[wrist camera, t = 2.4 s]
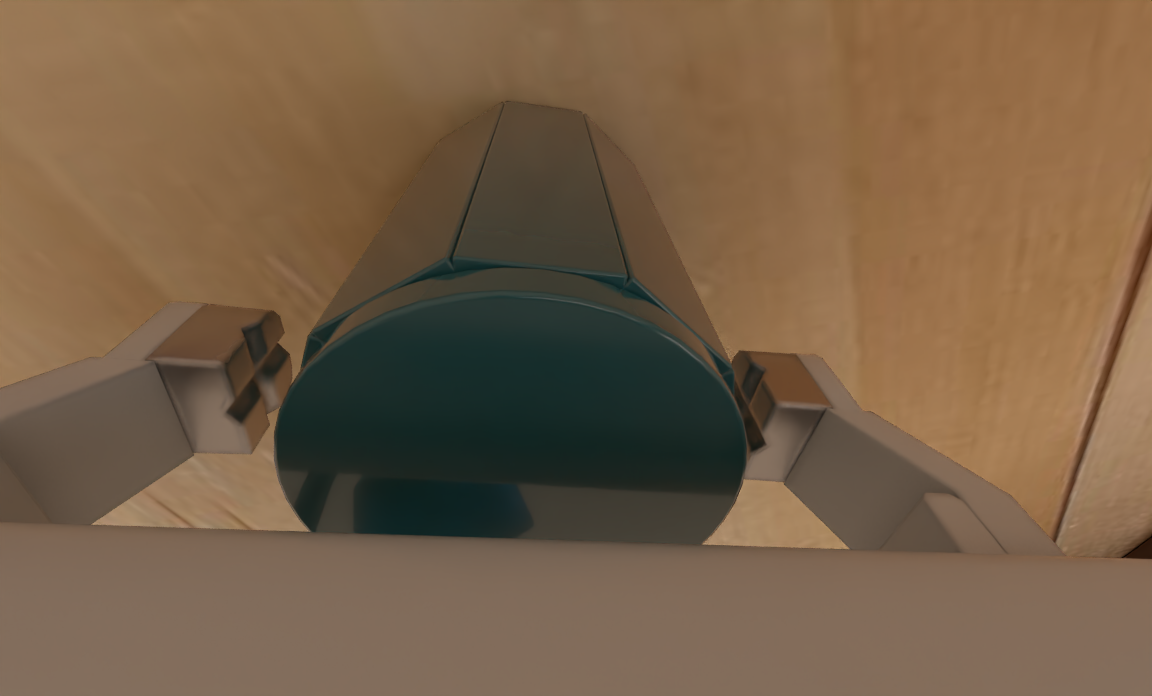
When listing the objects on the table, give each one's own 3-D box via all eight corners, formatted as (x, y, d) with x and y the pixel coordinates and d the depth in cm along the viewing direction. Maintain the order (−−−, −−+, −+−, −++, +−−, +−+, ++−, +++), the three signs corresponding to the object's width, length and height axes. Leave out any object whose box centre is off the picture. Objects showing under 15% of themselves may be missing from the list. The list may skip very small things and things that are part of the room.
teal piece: (412, 87, 12) (190, 260, 4) (668, 123, 13) (842, 323, 5) (421, 303, 15) (305, 604, 8) (622, 322, 16) (687, 613, 9)
